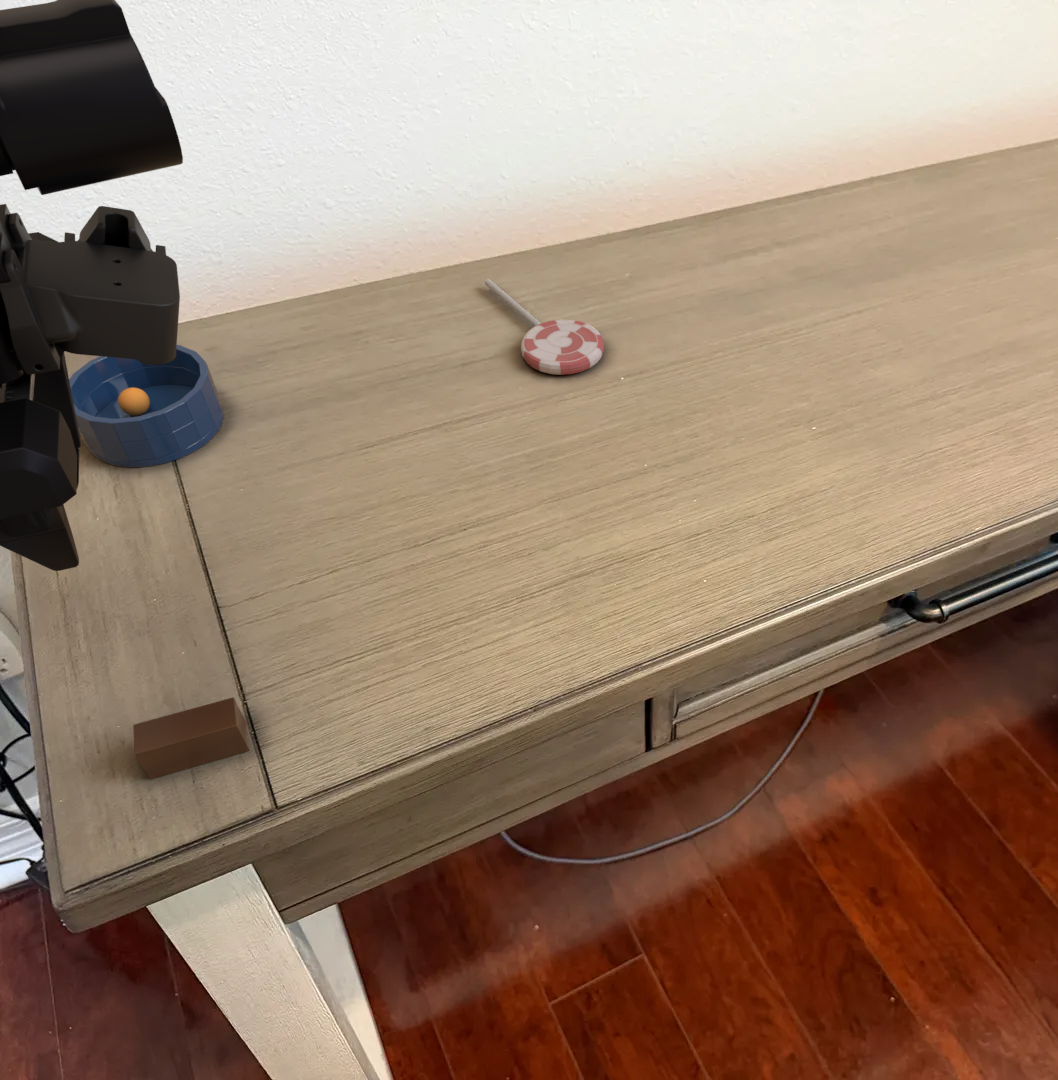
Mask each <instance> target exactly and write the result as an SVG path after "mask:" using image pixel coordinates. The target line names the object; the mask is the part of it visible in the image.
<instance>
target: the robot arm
mask: <svg viewBox="0 0 1058 1080" xmlns="http://www.w3.org/2000/svg"><path fill="white" fill-rule="evenodd" d="M170 110H171V109H170V107H169V105H168V103H167V101H166V99H165V97H164V96H163V95H162V94H161V92H160V91H159V89H157V87H156V86H155V83H154V81H153V79H152V76H151V74H150V72H149V69H148V67H147V65H146V62H145V60H144V58H143V56H142V53H141V51H140V50H139V47H138V46H137V43H136V41H135V39H134V37H133V36H132V34H131V32H130V29H129V26H128V22H127V20H126V17H125V14H124V11H123V8H122V7H121V5H119V3H118V2H117V0H54V1H50V2H45V3H38V4H31V5H25V6H17V7H12V8H11V7H10V8H4V9H0V177H5V176H8V175H13V174H14V171H15V172H16V175H17V177H18V179H19V181H20V183H21V185H22V187H23V189H24V191H28V190H33V189H37V190H38V191H39V194H40V195H41V196H45V195H49V194H54V193H57V192H62V191H67V190H71V189H72V190H73V189H76V188H77V189H78V188H82V187H85V186H86V187H87V186H89V185H94V184H98V183H99V184H100V183H103V182H108V181H113V180H117V179H121V178H126V177H130V176H135V175H139V174H143V173H149V172H152V171H153V172H154V171H157V170H162V169H166V168H167V169H168V168H171V167H175V166H180V165H182V164H183V163H184V156H183V150H182V146H181V143H180V138H179V135H178V132H177V127H176V124H175V123H174V119H173V116H172V113H171V111H170ZM78 237H79V238H78V240H76V233H73V232H68V231H67V232H65V231H64V241H58V240H56V239H54V238H52V237H49V236H48V235H45V234H43V233H41V232H40V231H35V232H29V231H28V230H27V228H26V226H25V224H24V222H23V220H22V218H21V216H20V214H19V213H18V212H10V210H9V208H8V205H7V203H3V204H0V547H2V548H4V549H6V550H8V551H10V552H13V553H15V554H17V555H19V556H21V557H23V558H24V559H27V560H30V561H32V562H34V563H36V564H39V565H41V566H42V567H45V568H47V569H49V570H51V571H54V572H60V571H66V570H69V569H74V568H77V567H78V566H79V565H80V557H79V554H78V550H77V549H78V548H77V546H76V541H75V539H74V534H73V531H72V529H71V525H70V521H69V519H68V515H67V511H66V509H65V505H64V504H66V503H67V502H69V501H70V500H71V499H72V498H74V497H75V496H76V495H77V493H78V492H77V490H78V487H79V484H80V448H81V447H82V441H81V440H82V439H81V436H80V434H79V429H78V424H77V419H76V413H75V408H74V403H73V398H72V392H71V387H70V383H69V379H70V377H69V373H68V367H67V366H68V365H67V361H66V356H65V352H66V353H69V354H73V355H81V356H92V357H93V356H94V357H99V356H103V357H115V358H126V359H136V360H138V361H139V362H141V363H143V364H152V365H159V364H165V363H169V362H171V361H172V360H174V359H175V357H176V347H177V345H178V333H179V332H178V330H179V329H178V328H179V317H180V303H181V302H180V301H181V294H180V293H181V292H180V285H179V284H180V282H179V273H178V265H177V263H176V261H175V260H174V259H173V258H172V257H170V256H169V255H167V249H166V245H159V244H156V245H155V251H153V249H152V247H151V241H150V239H149V237H148V235H147V234H146V232H145V229H144V228H143V226H142V224H141V222H140V220H139V218H138V217H137V215H136V213H135V212H134V211H133V210H130V209H125V208H118V207H111V206H107V205H106V206H105V205H99V206H98V207H97V208H96V210H95V211H94V212H93V214H92V215H91V216H90V218H89V219H88V221H87V222H86V223H85V224H84V225H83V228H82V229H81V230H80V232H79V236H78Z"/></svg>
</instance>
